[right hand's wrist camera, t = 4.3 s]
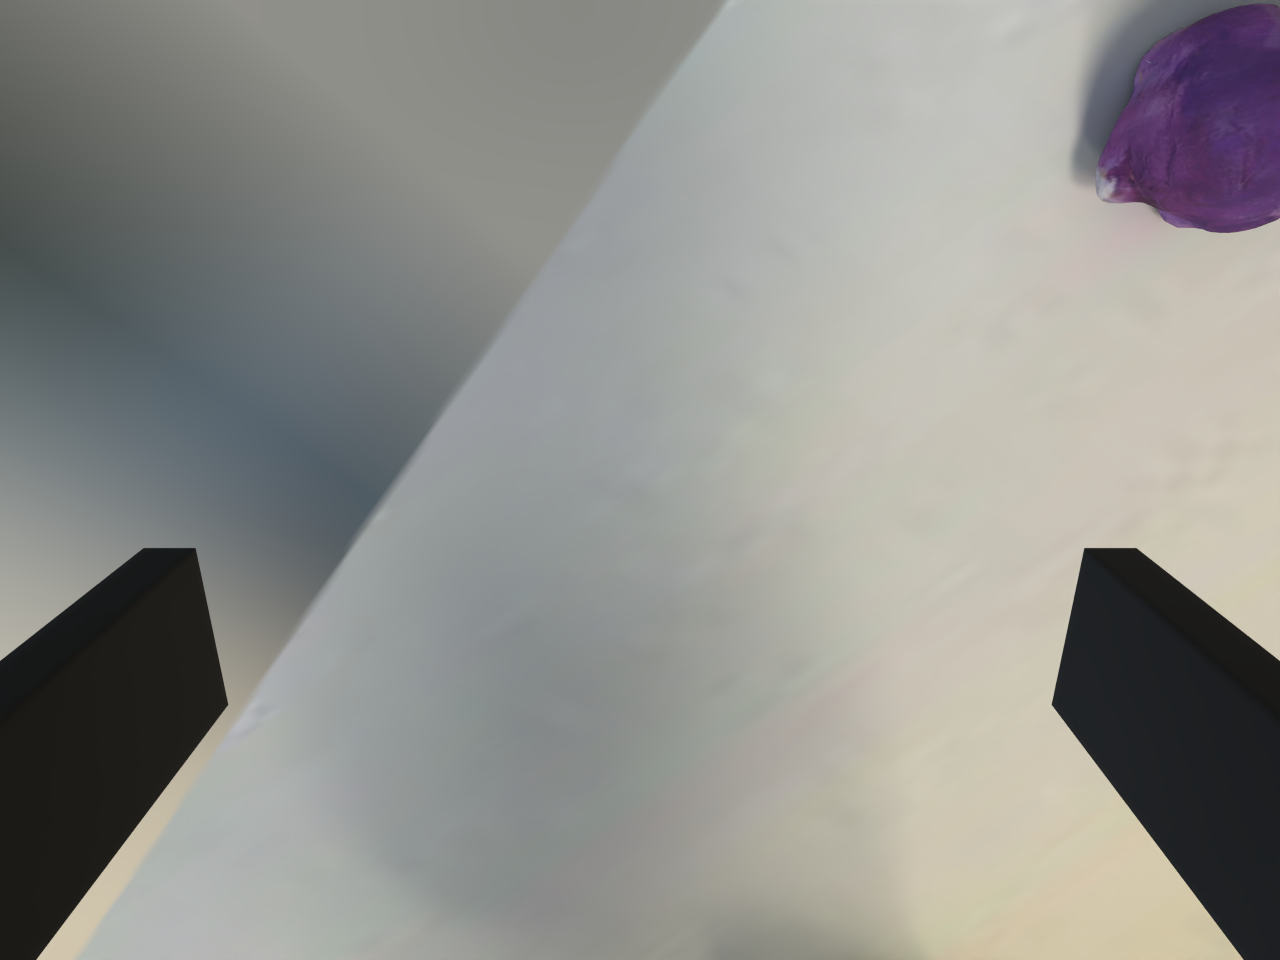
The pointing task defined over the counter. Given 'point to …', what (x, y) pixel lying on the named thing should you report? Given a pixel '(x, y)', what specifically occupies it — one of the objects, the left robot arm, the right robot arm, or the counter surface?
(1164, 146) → the figurine
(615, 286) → the counter surface
